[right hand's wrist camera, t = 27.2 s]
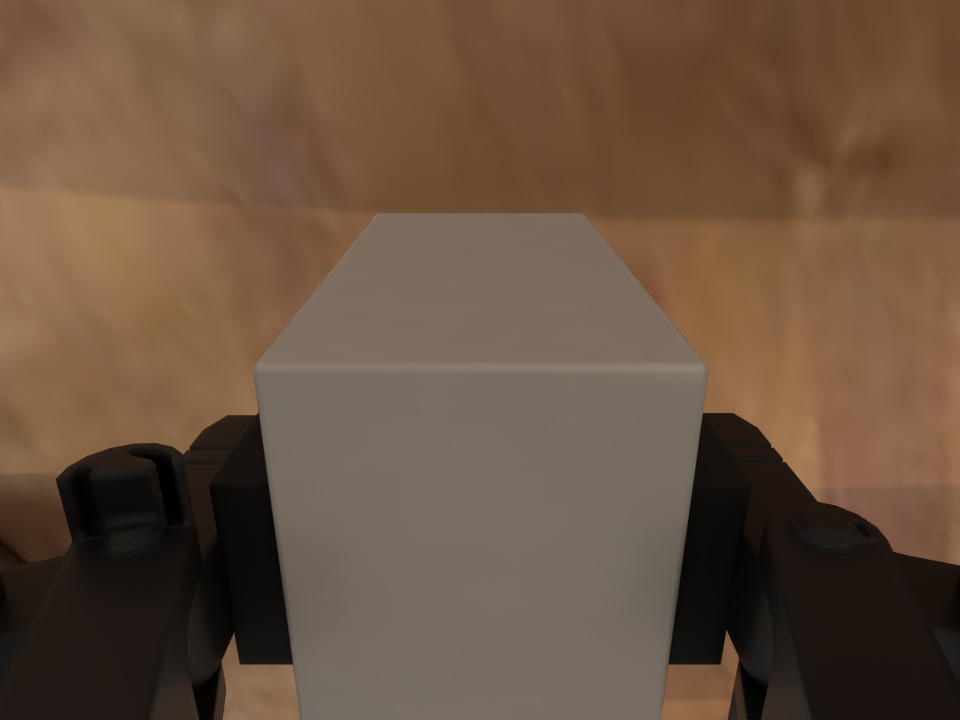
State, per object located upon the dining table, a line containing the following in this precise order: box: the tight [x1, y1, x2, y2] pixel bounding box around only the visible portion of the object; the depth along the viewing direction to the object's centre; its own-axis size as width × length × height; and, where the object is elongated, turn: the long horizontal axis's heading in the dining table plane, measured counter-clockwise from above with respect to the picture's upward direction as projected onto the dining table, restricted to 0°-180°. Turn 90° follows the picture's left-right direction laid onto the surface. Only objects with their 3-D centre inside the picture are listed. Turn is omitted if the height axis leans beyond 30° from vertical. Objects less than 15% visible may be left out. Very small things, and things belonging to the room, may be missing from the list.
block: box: [253, 213, 709, 720], centre depth 12 cm, size 5×6×9 cm
